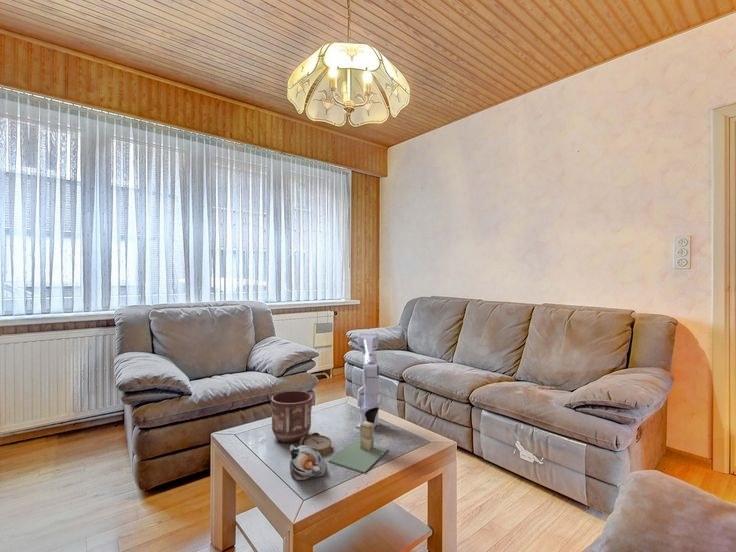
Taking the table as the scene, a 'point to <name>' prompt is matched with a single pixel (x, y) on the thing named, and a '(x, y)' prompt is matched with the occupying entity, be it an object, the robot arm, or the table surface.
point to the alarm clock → (317, 443)
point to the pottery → (291, 415)
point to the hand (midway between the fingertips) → (370, 425)
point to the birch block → (366, 436)
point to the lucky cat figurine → (306, 462)
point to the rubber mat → (358, 457)
